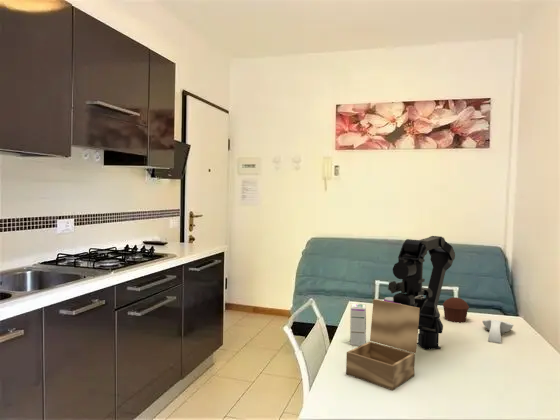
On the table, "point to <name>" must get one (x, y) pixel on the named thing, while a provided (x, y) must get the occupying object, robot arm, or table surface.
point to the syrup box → (358, 324)
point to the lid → (395, 325)
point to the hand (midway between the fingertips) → (412, 319)
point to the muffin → (455, 309)
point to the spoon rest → (496, 329)
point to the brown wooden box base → (380, 365)
